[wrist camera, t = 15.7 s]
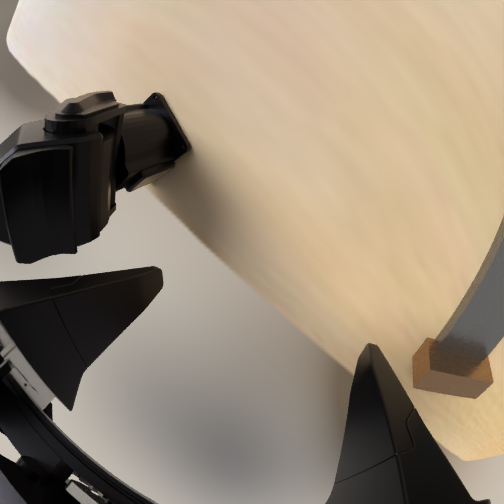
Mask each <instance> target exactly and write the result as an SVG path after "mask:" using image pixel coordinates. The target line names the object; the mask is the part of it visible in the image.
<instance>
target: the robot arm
mask: <svg viewBox="0 0 504 504" xmlns="http://www.w3.org/2000/svg"><path fill="white" fill-rule="evenodd" d="M156 96H157V99H156ZM183 145H184V146H185V150H184V149H183ZM189 151H190V144H189V142H188V141H187V139H186V137H185V135H184V134H183V132H182V130H181V128H180V127H179V125H178V123H177V121H176V120H175V118H174V116H173V114H172V113H171V111H170V109H169V107H168V106H167V104H166V102H165V100H164V99H163V97H162V95H161V94H160V93H153V94H152V95H151V96H150V97H149V98H148V99H147V100H146V101H145V102H144V103H143V104H134V105H125V104H121V103H118V102H116V99H115V97H114V95H113V92H111V91H101V92H93V93H88V94H85V95H82V96H79V97H77V98H70V99H66V100H65V101H64V102H62V103H61V104H60V105H58V106H57V107H56V108H54V109H53V110H52V111H50V112H49V113H48V114H47V115H46V116H45V119H44V120H39V121H34V122H30V123H26V124H23V125H22V126H20V127H19V128H18V129H17V130H16V131H14V132H13V133H12V134H11V135H10V136H9V137H8V138H7V139H6V140H5V141H4V142H3V143H1V144H0V241H1V242H3V243H6V244H9V245H11V246H12V249H13V252H14V256H15V259H16V261H17V262H18V263H24V264H31V263H33V262H36V261H38V260H40V259H43V258H46V257H48V256H51V255H57V254H76V253H77V246H80V245H83V244H86V243H89V242H91V241H92V240H94V239H96V238H98V237H99V236H100V231H102V229H103V228H104V227H105V226H106V225H107V223H108V220H109V217H110V216H111V215H112V213H113V212H114V211H115V210H116V203H115V192H116V191H118V190H120V189H122V188H125V189H126V191H128V192H131V191H134V190H136V189H137V188H140V187H142V186H144V185H147V184H149V183H151V182H153V181H156V180H158V179H160V178H161V177H162V176H163V175H165V174H166V173H167V172H169V171H170V170H171V169H173V168H174V167H175V161H177V160H178V159H179V158H181V157H182V156H183V155H185V154H186V153H187V152H189ZM162 287H163V275H162V270H161V269H160V268H158V267H155V266H151V267H143V268H135V269H128V270H120V271H112V272H105V273H97V274H89V275H83V276H72V277H63V278H50V279H34V280H18V281H4V282H3V281H1V282H0V432H1V433H3V434H5V435H6V436H7V437H8V439H9V440H10V441H11V443H12V444H13V446H14V447H15V448H16V449H17V451H18V452H19V453H20V455H21V457H20V458H19V460H18V461H17V462H16V463H15V462H13V461H11V460H9V459H7V458H6V457H4V456H2V455H1V454H0V504H157V503H156V502H155V501H153V500H151V499H149V498H148V497H146V496H144V495H143V494H141V493H139V492H138V491H136V490H135V489H133V488H131V487H130V486H129V485H127V484H126V483H124V482H123V481H121V480H120V479H118V478H117V477H116V476H114V475H113V474H112V473H110V472H109V471H107V470H106V469H105V468H104V467H102V466H101V465H100V464H98V463H97V462H96V461H95V460H94V459H92V458H91V457H90V456H89V455H88V454H86V453H85V452H84V451H83V450H82V449H81V448H80V447H79V446H77V445H76V444H75V443H74V442H73V441H72V440H71V439H70V438H69V437H68V436H67V435H66V434H64V433H63V431H62V430H61V429H60V428H59V427H58V426H57V425H56V424H55V423H54V422H53V419H52V403H51V401H52V400H53V399H54V397H56V398H57V399H58V400H59V401H61V403H62V404H63V405H64V406H66V407H67V409H69V410H70V411H72V409H73V406H74V402H75V398H76V395H77V391H78V387H79V384H80V381H81V378H82V375H83V373H84V372H85V370H86V369H87V367H89V366H90V365H91V364H92V363H93V362H94V361H95V360H96V358H98V357H99V356H100V355H101V353H102V352H103V351H104V350H105V349H106V348H107V347H108V346H109V345H110V344H111V343H112V342H113V341H114V340H115V339H116V338H117V337H118V336H119V335H120V334H121V333H122V332H123V331H124V330H125V329H126V328H127V327H128V326H129V325H130V324H131V323H132V322H133V321H134V320H135V319H136V318H137V317H138V316H139V315H140V314H141V313H142V312H143V311H144V310H145V309H146V308H147V307H148V305H149V304H150V303H151V301H152V300H153V299H154V298H155V297H156V295H157V294H158V293H159V292H160V290H161V289H162ZM71 474H74V475H75V476H77V477H78V478H79V480H80V481H81V482H83V483H85V484H86V485H88V486H89V487H87V486H85V485H83V484H82V483H80V482H78V481H75V480H72V479H71V480H69V479H68V478H69V477H70V475H71ZM91 490H92V491H94V492H96V493H98V494H99V495H96V494H94V493H92V492H91ZM326 504H491V502H490V500H489V499H485V500H481V501H475V500H474V499H472V497H471V496H470V494H469V493H468V491H467V489H466V488H465V486H464V485H463V483H462V481H461V480H460V478H459V477H458V475H457V473H456V472H455V470H454V469H453V467H452V466H451V464H450V462H449V461H448V459H447V458H446V456H445V455H444V453H443V452H442V450H441V449H440V447H439V446H438V444H437V443H436V441H435V440H434V438H433V437H432V435H431V433H430V432H429V430H428V429H427V427H426V426H425V424H424V422H423V421H422V419H421V417H420V416H419V414H418V412H417V410H416V409H414V405H413V404H412V402H411V400H410V398H409V397H408V395H407V393H406V391H405V390H404V388H403V386H402V385H401V383H400V381H399V380H398V378H397V376H396V375H395V373H394V371H393V370H392V368H391V366H390V365H389V363H388V361H387V360H386V358H385V356H384V355H383V353H382V352H381V350H380V348H379V347H378V346H377V345H375V344H371V343H368V344H367V345H366V347H365V348H364V350H363V351H362V353H361V354H360V356H359V358H358V362H357V366H356V370H355V375H354V379H353V383H352V387H351V392H350V399H349V407H348V414H347V421H346V427H345V433H344V439H343V444H342V450H341V455H340V460H339V464H338V469H337V473H336V478H335V482H334V486H333V489H332V492H331V495H330V497H329V498H328V500H327V502H326Z"/></svg>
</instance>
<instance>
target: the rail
mask: <svg viewBox="0 0 504 504" xmlns="http://www.w3.org/2000/svg"><path fill="white" fill-rule="evenodd" d="M503 336H504V217H503V220H502V222H501V225H500V227H499V230H498V232H497V234H496V237H495V239H494V241H493V243H492V246H491V248H490V250H489V252H488V254H487V256H486V258H485V260H484V262H483V264H482V266H481V268H480V270H479V272H478V274H477V275H476V277H475V279H474V281H473V283H472V284H471V286H470V288H469V290H468V291H467V293H466V295H465V296H464V298H463V300H462V301H461V303H460V304H459V306H458V308H457V309H456V311H455V312H454V314H453V315H452V317H451V318H450V320H449V321H448V323H447V324H446V325H445V327H444V328H443V330H442V331H441V333H440V334H439V335H438V337H437V338H436V339H435V340H434V339H430V338H427V339H426V340H425V342H424V343H423V344H422V346H421V347H420V348H419V349H418V351H417V352H416V353H415V355H414V356H413V388H417V389H421V390H426V391H431V392H437V393H442V394H448V395H454V396H460V397H467V398H474V399H476V398H477V397H478V396H480V395H481V394H482V393H483V392H484V391H485V390H486V389H487V388H488V387H489V386H490V385H491V384H492V383H493V377H492V372H491V368H490V363H489V359H488V355H489V354H490V353H491V351H492V350H493V349H494V348H495V347H496V345H497V344H498V343H499V342H500V340H501V339H502V338H503Z"/></svg>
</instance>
